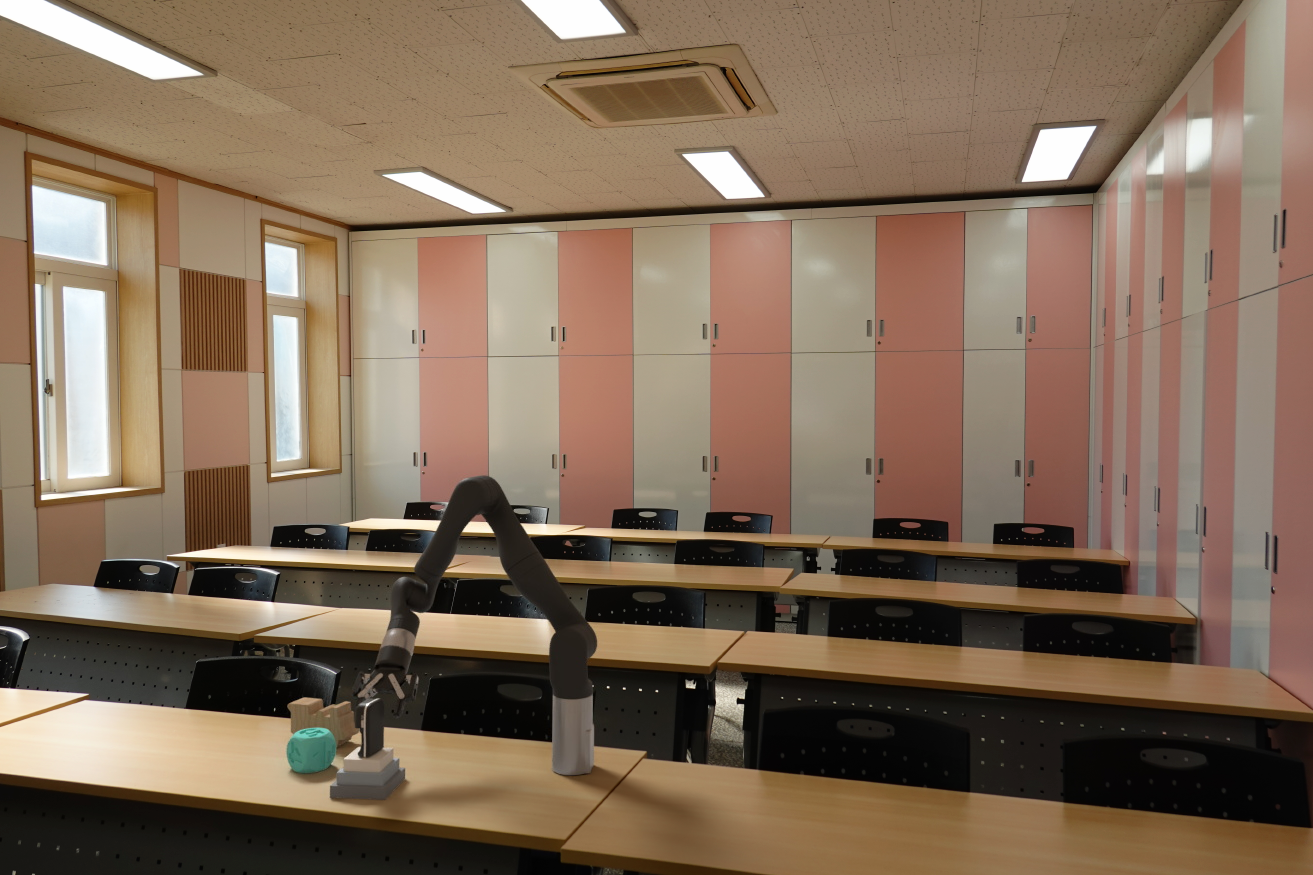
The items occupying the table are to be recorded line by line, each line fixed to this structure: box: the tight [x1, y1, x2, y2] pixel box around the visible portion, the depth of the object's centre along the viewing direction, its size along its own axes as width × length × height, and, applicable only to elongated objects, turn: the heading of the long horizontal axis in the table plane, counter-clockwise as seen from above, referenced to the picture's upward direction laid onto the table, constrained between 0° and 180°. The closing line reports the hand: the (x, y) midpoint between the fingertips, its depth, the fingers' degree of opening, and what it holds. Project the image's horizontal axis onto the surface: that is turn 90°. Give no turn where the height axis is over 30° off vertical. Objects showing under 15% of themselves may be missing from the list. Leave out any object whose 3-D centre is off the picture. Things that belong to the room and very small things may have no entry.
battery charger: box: [354, 697, 385, 758], centre depth 200 cm, size 7×4×11 cm, turn 167°
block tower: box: [329, 746, 406, 801], centre depth 199 cm, size 12×12×8 cm
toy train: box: [287, 697, 360, 748], centre depth 229 cm, size 6×17×10 cm, turn 73°
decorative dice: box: [285, 728, 337, 774], centre depth 212 cm, size 8×8×8 cm
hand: (377, 716), depth 204 cm, fingers open, 8 cm apart
